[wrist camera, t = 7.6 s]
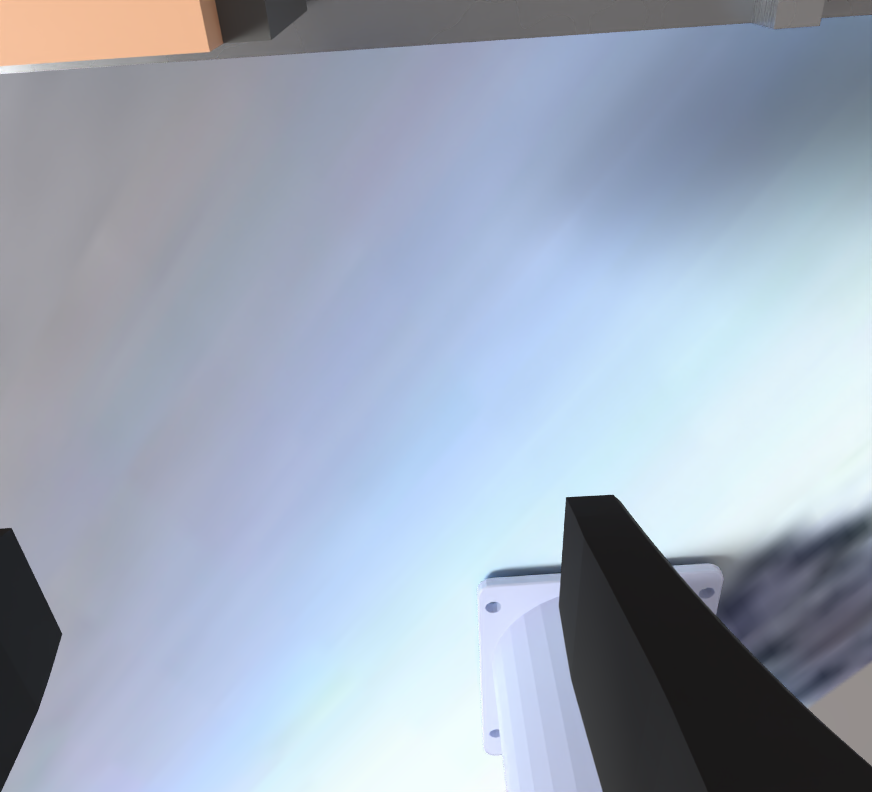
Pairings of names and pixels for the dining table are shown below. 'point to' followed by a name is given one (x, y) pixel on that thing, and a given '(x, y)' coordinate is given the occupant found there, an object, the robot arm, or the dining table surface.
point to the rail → (488, 23)
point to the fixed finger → (134, 27)
